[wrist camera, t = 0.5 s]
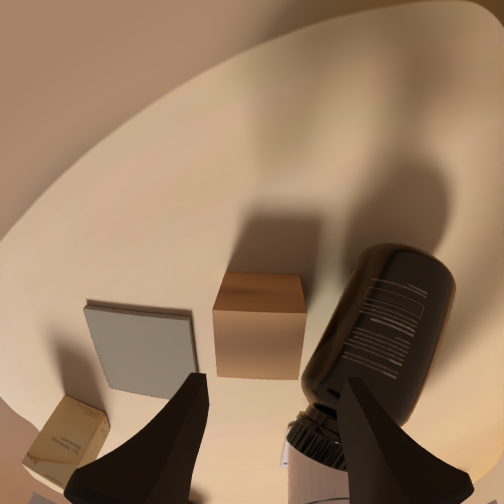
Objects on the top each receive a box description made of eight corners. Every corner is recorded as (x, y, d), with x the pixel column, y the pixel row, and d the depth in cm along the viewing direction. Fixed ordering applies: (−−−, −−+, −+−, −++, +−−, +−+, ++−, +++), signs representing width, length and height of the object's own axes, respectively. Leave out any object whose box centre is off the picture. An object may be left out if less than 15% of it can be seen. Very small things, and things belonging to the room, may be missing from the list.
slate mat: (201, 399, 25) (200, 403, 24) (112, 384, 25) (110, 387, 25) (190, 316, 22) (188, 320, 21) (86, 304, 22) (83, 308, 21)
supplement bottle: (343, 257, 20) (257, 417, 16) (398, 222, 13) (283, 459, 10) (414, 304, 20) (343, 452, 16) (479, 288, 13) (395, 490, 10)
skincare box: (106, 411, 28) (66, 490, 16) (111, 430, 29) (78, 503, 18) (63, 393, 27) (18, 462, 16) (70, 413, 29) (33, 478, 18)
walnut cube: (293, 333, 22) (297, 380, 17) (227, 331, 22) (217, 376, 17) (299, 273, 20) (307, 313, 15) (225, 271, 20) (212, 309, 16)
